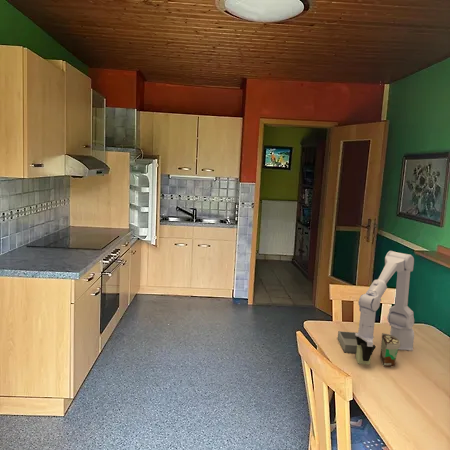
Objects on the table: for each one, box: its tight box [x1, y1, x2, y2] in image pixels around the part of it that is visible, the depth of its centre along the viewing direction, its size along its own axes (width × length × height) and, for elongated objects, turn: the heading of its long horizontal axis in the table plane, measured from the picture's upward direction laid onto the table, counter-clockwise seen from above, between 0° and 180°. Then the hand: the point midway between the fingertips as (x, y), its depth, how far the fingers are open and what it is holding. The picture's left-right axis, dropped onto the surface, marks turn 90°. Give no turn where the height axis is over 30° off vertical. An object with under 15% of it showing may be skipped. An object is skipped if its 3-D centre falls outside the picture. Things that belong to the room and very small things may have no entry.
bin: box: [337, 330, 373, 356], centre depth 188 cm, size 11×15×4 cm
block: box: [355, 345, 372, 366], centre depth 173 cm, size 4×4×6 cm
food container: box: [379, 332, 400, 368], centre depth 173 cm, size 12×6×10 cm, turn 168°
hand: (363, 356), depth 173 cm, fingers open, 7 cm apart
